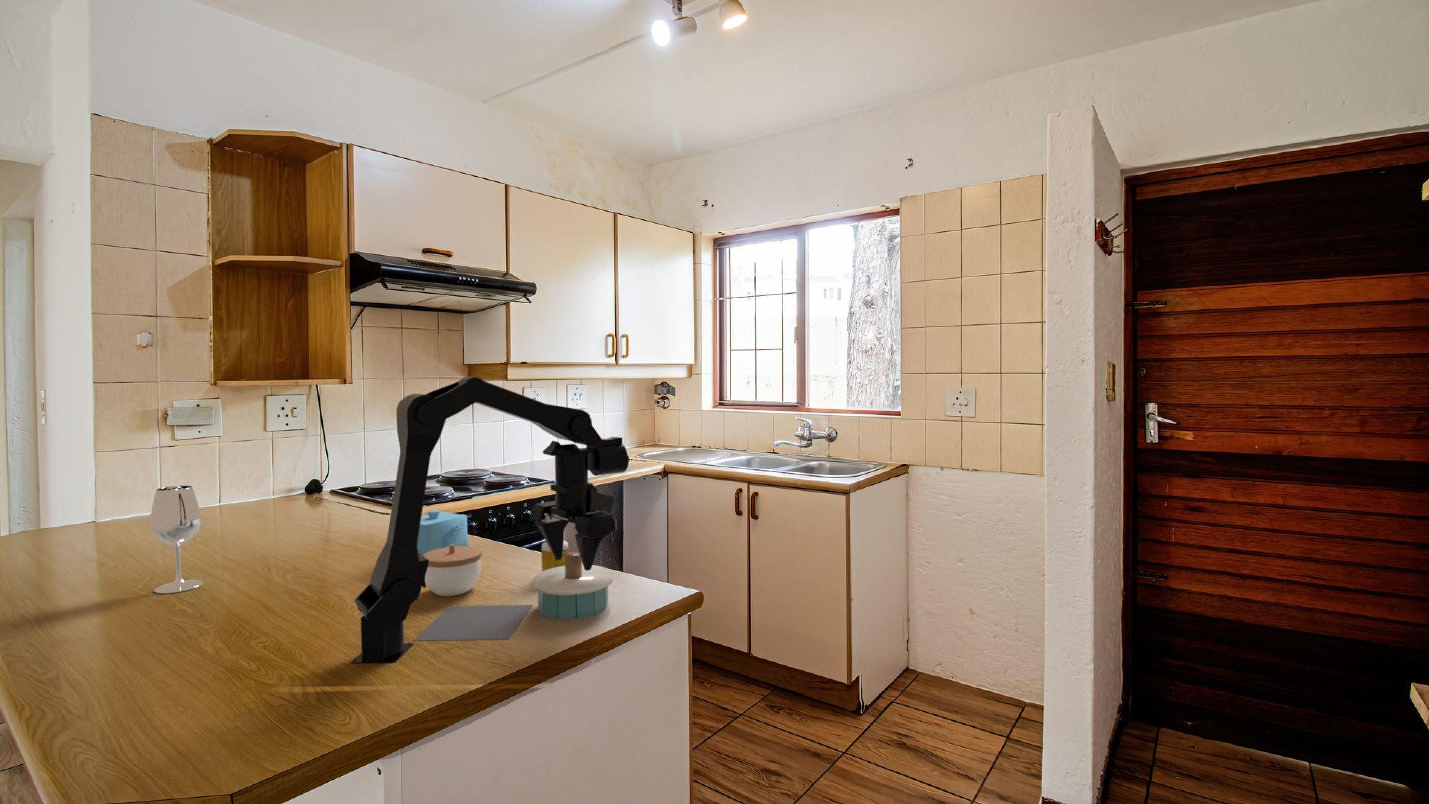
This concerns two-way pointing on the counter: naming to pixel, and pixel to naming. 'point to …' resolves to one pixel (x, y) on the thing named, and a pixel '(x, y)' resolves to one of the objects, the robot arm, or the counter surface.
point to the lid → (572, 578)
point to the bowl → (572, 604)
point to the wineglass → (175, 528)
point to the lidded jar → (453, 569)
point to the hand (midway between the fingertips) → (572, 564)
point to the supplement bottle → (549, 558)
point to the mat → (475, 623)
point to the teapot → (441, 531)
